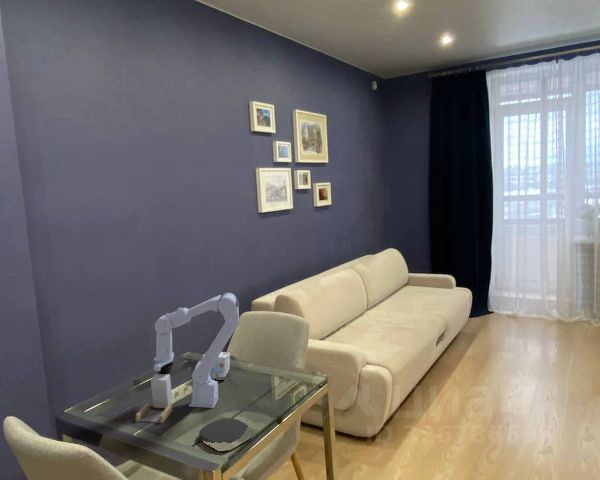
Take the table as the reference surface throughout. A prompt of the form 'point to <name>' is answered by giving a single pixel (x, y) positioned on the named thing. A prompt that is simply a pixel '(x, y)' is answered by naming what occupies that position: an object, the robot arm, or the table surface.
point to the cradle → (152, 414)
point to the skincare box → (161, 390)
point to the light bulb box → (220, 365)
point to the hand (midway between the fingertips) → (164, 382)
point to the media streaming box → (223, 431)
